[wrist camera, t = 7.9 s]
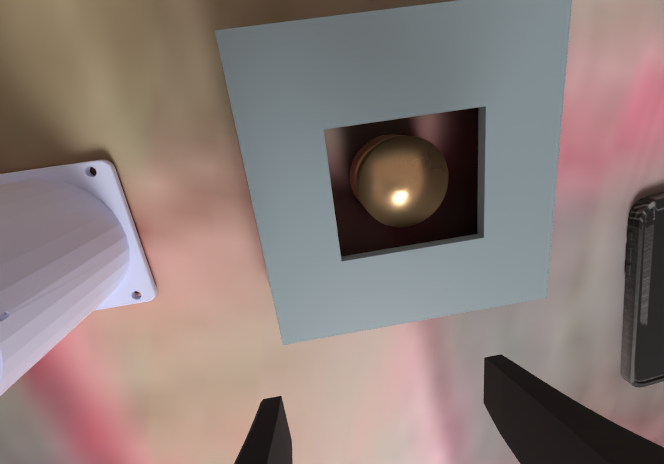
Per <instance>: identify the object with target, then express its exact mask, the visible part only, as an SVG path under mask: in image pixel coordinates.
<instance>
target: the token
mask: <svg viewBox="0 0 664 464" xmlns="http://www.w3.org/2000/svg"><path fill="white" fill-rule="evenodd" d="M350 184H351V188H352V191H353V193H354V195H355V196H356V198H357V199H358V200H359V202H360V203H361V204H362V205H363V206H364V208H365V209H366V210H367V211H368V212H369V214H370V215H371V216H372V217H373V218H375V219H376V220H377V221H379V222H381V223H383V224H385V225H388V226H392V227H408V226H412V225H415V224H418V223H420V222H422V221H424V220H425V219H427V218H428V217H429V216H431V215H432V214H433V213H434V212H435V211H436V210H437V208H438V207H439V206H440V204H441V203H442V201H443V199H444V197H445V194H446V191H447V187H448V169H447V165H446V162H445V159H444V157H443V156H442V154H441V153H440V151H439V150H438V149H437V148H436V147H435V146H434V145H433V144H431V143H430V142H428V141H426V140H425V139H422V138H419V137H414V136H404V135H393V134H388V135H381V136H378V137H375V138H373V139H371V140H370V141H368V142H367V143H365V144H364V145H363V146H362V147H361V148H360V149H359V151H358V152H357V154H356V155H355V157H354V159H353V161H352V164H351V169H350Z"/></svg>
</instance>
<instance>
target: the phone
mask: <svg viewBox="0 0 664 464" xmlns="http://www.w3.org/2000/svg"><path fill="white" fill-rule="evenodd" d="M621 376H622V377H623V378H624V379H625V380H626V381H628V382H629V383H630V384H632V385H633V386H635V387H645V386H648V385H652V384H655V383H659V382H662V381H664V192H661V193H658V194H654V195H651V196H647V197H645V198H642V199H640V200H639V201H638V202H637V203H636V204H635V205H634V206H633V207H632V209H631V211H630V213H629V217H628V233H627V253H626V273H625V294H624V314H623V334H622V355H621Z"/></svg>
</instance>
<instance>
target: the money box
mask: <svg viewBox="0 0 664 464" xmlns="http://www.w3.org/2000/svg"><path fill="white" fill-rule="evenodd" d="M571 5H572V0H456V1H448V2H440V3H432V4H424V5H416V6H407V7H399V8H391V9H383V10H375V11H367V12H359V13H351V14H343V15H335V16H327V17H318V18H310V19H302V20H294V21H286V22H278V23H270V24H262V25H254V26H246V27H238V28H230V29H221V30H215V35H216V39H217V44H218V49H219V53H220V58H221V62H222V67H223V72H224V76H225V81H226V85H227V90H228V94H229V99H230V104H231V108H232V113H233V117H234V122H235V127H236V131H237V136H238V140H239V145H240V150H241V154H242V159H243V163H244V168H245V172H246V177H247V182H248V186H249V191H250V195H251V200H252V205H253V209H254V214H255V218H256V223H257V228H258V232H259V237H260V241H261V246H262V250H263V255H264V260H265V264H266V269H267V273H268V278H269V283H270V287H271V292H272V296H273V301H274V306H275V310H276V315H277V319H278V324H279V328H280V333H281V338H282V342H283V345H286V344H291V343H297V342H303V341H308V340H314V339H319V338H325V337H330V336H336V335H342V334H347V333H353V332H358V331H364V330H369V329H375V328H381V327H386V326H392V325H397V324H403V323H408V322H414V321H419V320H425V319H431V318H436V317H442V316H447V315H453V314H458V313H464V312H470V311H475V310H481V309H486V308H492V307H497V306H503V305H509V304H514V303H520V302H525V301H531V300H536V299H542V298H546V296H547V284H548V273H549V261H550V249H551V238H552V226H553V215H554V203H555V191H556V180H557V168H558V156H559V145H560V133H561V122H562V110H563V98H564V87H565V75H566V63H567V52H568V40H569V29H570V17H571ZM477 107H479V115H478V228H477V234H474V235H468V236H462V237H456V238H450V239H444V240H438V241H432V242H426V243H419V244H413V245H407V246H401V247H395V248H389V249H383V250H377V251H371V252H365V253H359V254H353V255H347V256H341V254H340V247H339V239H338V232H337V224H336V217H335V210H334V202H333V195H332V188H331V180H330V173H329V166H328V158H327V151H326V144H325V136H324V129H331V128H338V127H345V126H352V125H359V124H366V123H373V122H380V121H387V120H394V119H401V118H408V117H415V116H422V115H429V114H435V113H442V112H449V111H456V110H463V109H470V108H477Z"/></svg>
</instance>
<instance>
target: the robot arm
mask: <svg viewBox="0 0 664 464" xmlns="http://www.w3.org/2000/svg"><path fill="white" fill-rule="evenodd" d="M90 167H93V168H95V170H96V172H97V174H96V176H94V175H92V174H91V172H90ZM135 291H138V292H139V293H140V294H141V296H137V295H136V294H135ZM156 294H157V289H156V286H155V283H154V280H153V277H152V274H151V271H150V268H149V265H148V262H147V259H146V257H145V254H144V251H143V248H142V245H141V242H140V239H139V236H138V233H137V230H136V227H135V225H134V222H133V219H132V216H131V213H130V210H129V207H128V204H127V201H126V198H125V195H124V193H123V190H122V187H121V184H120V181H119V178H118V175H117V172H116V169H115V167H114V165H113V164H112V163H111V162H110V161H107V160H95V161H88V162H81V163H74V164H67V165H60V166H53V167H46V168H39V169H32V170H25V171H18V172H11V173H4V174H0V396H1V395H2V394H3V393H4V392H5V391H6V390H7V389H8V388H9V387H10V386H12V385H13V384H14V383H15V382H16V381H17V380H18V379H19V378H20V377H21V376H22V375H24V374H25V373H26V372H27V371H28V370H29V369H30V368H31V367H32V366H33V365H34V364H36V363H37V362H38V361H39V360H40V359H41V358H42V357H43V356H44V355H45V354H46V353H48V352H49V351H50V350H51V349H52V348H53V347H54V346H55V345H56V344H57V343H58V342H60V341H61V340H62V339H63V338H64V337H65V336H66V335H67V334H68V333H69V332H70V331H72V330H73V329H74V328H75V327H76V326H77V325H78V324H79V323H80V322H81V321H82V320H84V319H85V318H86V317H87V316H88V315H89V314H90V313H91V312H92V311H93V310H99V309H105V308H111V307H117V306H123V305H129V304H135V303H141V302H147V301H151V300H152V299H153V298H154V297H155V296H156ZM484 404H485V406H486V408H487V410H488V412H489V414H490V416H491V418H492V420H493V422H494V423H495V425H496V427H497V429H498V431H499V432H500V434H501V436H502V437H503V439H504V440H505V442H506V443H507V445H508V446H509V448H510V449H511V450H512V452H513V453H514V455H515V456H516V458H517V459H518V461H519V462H520V464H664V447H662V446H660V445H657V444H655V443H653V442H651V441H649V440H647V439H645V438H643V437H641V436H639V435H637V434H635V433H633V432H631V431H629V430H627V429H625V428H623V427H621V426H619V425H617V424H615V423H613V422H612V421H610V420H608V419H606V418H604V417H602V416H601V415H599V414H597V413H595V412H594V411H592V410H590V409H588V408H586V407H585V406H583V405H581V404H580V403H578V402H576V401H574V400H573V399H571V398H569V397H568V396H566V395H564V394H563V393H561V392H560V391H558V390H556V389H555V388H553V387H551V386H550V385H548V384H547V383H545V382H544V381H542V380H540V379H539V378H537V377H536V376H534V375H533V374H531V373H529V372H528V371H526V370H525V369H523V368H522V367H520V366H519V365H517V364H516V363H514V362H512V361H511V360H509V359H508V358H506V357H504V356H503V355H496V356H490V357H485V360H484ZM234 464H292V440H291V436H290V431H289V427H288V423H287V419H286V414H285V410H284V406H283V401H282V397H281V396H278V397H273V398H267V399H263V400H262V402H261V403H260V406H259V409H258V411H257V414H256V416H255V419H254V421H253V424H252V426H251V428H250V431H249V433H248V435H247V438H246V440H245V442H244V444H243V446H242V448H241V450H240V452H239V455H238V457H237V459H236V461H235V463H234Z"/></svg>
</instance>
